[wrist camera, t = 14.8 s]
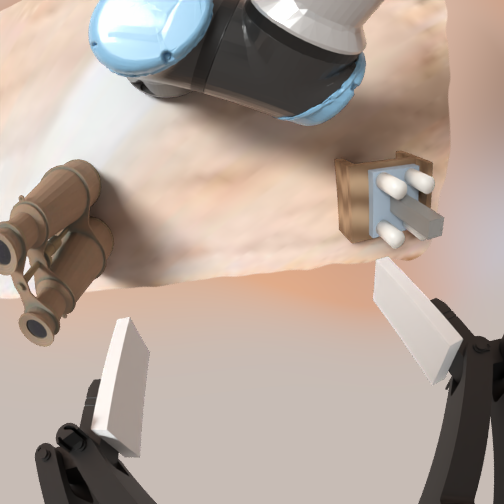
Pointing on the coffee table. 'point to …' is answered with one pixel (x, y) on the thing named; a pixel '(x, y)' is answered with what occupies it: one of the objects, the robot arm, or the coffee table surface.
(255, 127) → the coffee table surface
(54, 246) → the binoculars
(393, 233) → the pegged blue plate
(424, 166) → the wooden u channel
